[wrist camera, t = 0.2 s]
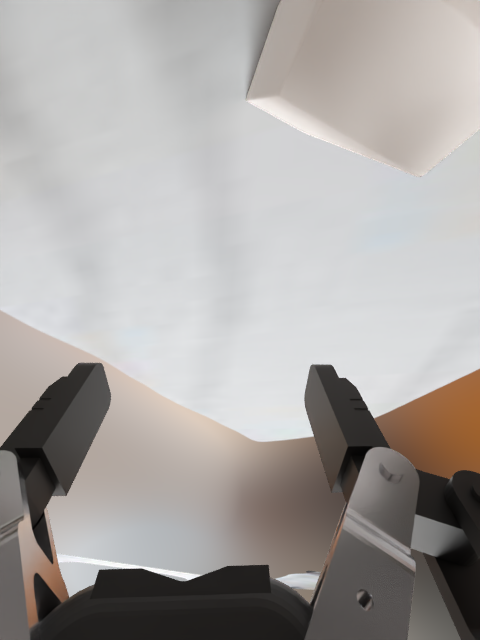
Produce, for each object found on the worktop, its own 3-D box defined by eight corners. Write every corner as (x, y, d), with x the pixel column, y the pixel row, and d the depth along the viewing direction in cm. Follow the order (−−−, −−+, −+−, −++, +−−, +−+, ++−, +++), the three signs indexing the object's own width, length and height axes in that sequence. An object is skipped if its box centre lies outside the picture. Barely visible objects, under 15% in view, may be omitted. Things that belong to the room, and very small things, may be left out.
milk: (277, 4, 20) (616, -675, 3) (346, 50, 22) (839, -184, 4) (244, 102, 23) (295, 91, 6) (305, 136, 25) (487, 203, 8)
